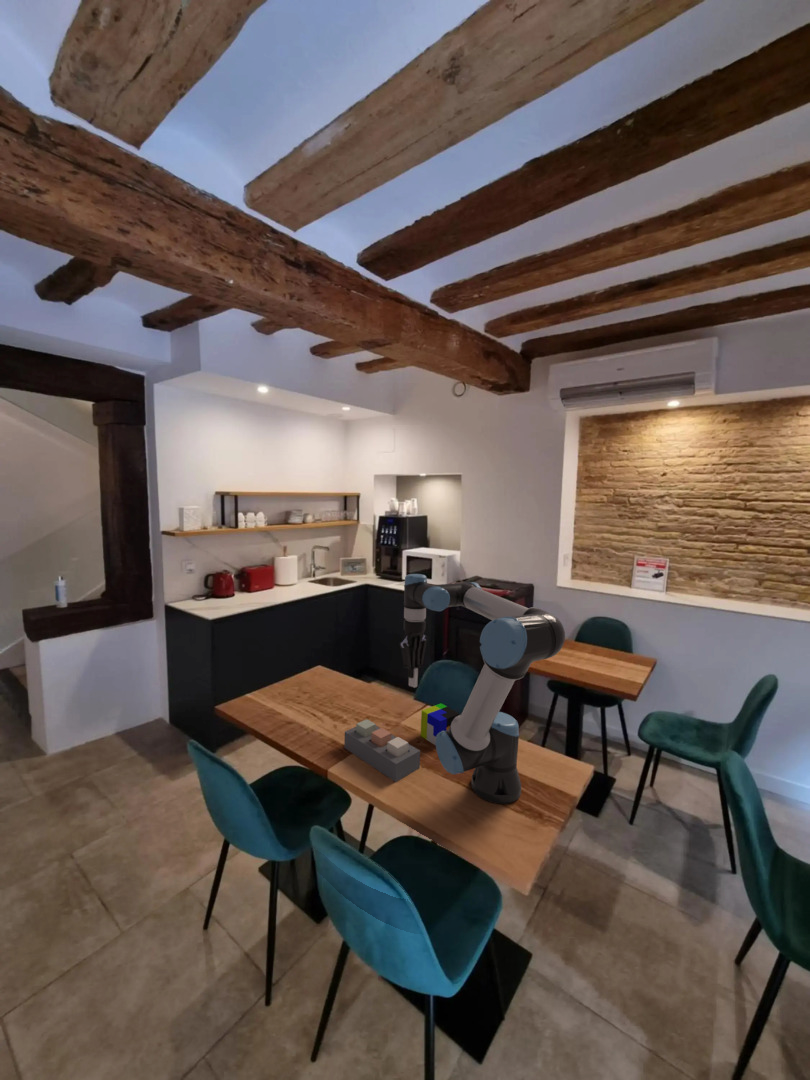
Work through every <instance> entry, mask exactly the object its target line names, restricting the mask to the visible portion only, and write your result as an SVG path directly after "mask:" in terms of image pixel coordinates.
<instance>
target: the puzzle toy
mask: <svg viewBox="0 0 810 1080" xmlns="http://www.w3.org/2000/svg"><path fill="white" fill-rule="evenodd" d="M459 715H461V713H460V712H458V711H456V710H454V709H452V708H451V707H449V706H447V705H445V704H444V703H442V702H441V703H439V704H436V705H433V706H430V707H426V708H424V709H421V717H420V719H421V720H420V737H422V738H423V739H425V740H426V741H428V742H430V743H431V744H433V745H434V746H436V736H437V734H438V733H440V732H442V731H446V730H448V729H449V727H450V725H451V723H452V721H453V719H454V718H455V717H457V716H459Z"/></svg>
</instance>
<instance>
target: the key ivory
mask: <svg viewBox="0 0 810 1080" xmlns="http://www.w3.org/2000/svg"><path fill="white" fill-rule="evenodd" d="M396 737H397V738H395V739H393V740H391V741H389V742H388V745H387V752H388V753H390V754H392V755H393V756H395V757H397V758H399V757H401V756H402V755H404V754H406V753H408V744H409V742H408V741H406V740H404V738H403V739H402V738H401V737H399V736H396Z"/></svg>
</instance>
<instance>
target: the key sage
mask: <svg viewBox="0 0 810 1080" xmlns="http://www.w3.org/2000/svg"><path fill="white" fill-rule="evenodd" d="M376 726H377V724H376V723H375V722H373V721H371V720H369V719H367V718H366V719H364V720H362V721H359V722H357V723H356V726H355V727H356V733H357V734H359V735H361V736H362V737H364V738H366V737H368V736H371V733H372V732H374V731H376Z"/></svg>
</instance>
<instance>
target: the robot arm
mask: <svg viewBox="0 0 810 1080" xmlns="http://www.w3.org/2000/svg"><path fill="white" fill-rule="evenodd" d="M403 586H404V587H403V591H404V592H403V595H404V597H403V600H404V601H403V605H404V607H403V608H404V609H403V618H404V619H403V631H404V632H405V634H404V637H403V638H404V639H403V640H402V641H399V643H398V645H399V647H400V650H401V655H402V656H401V657H402V663H403V667H404V668H406V669H408V670H407V678H408V686H409V687H411V688H414V689H415V688H417V687H418V679H419V678H418V677H419V669H421V668H422V665H423V664H424V659H425V654H426V649H427V644H428V641H429V636H427V635H425V631H426V623H427V621H426V618H427V609H429V610H431V611H435V612H442V611H444V610H445V609H447V608H452V607H459V606H461V607H464V608H466V609H468V610H471V611H472V612H474V613H477V614H478V615H481V616H483V617H484V618H486V619H488V620H491V621H489V622H488V623H486V625H485V626H484V627H483V629H482V631H481V634H480V637H479V643H480V646H479V650H480V653H481V654H480V655H481V657H482V660H483V663H484V664H483V667H482V668H481V671H480V673H479V675H478V677H477V680H476V682H475V684H474V686H473V688H472V691H471V692H470V695H469V697H468V699H467V702H466V704H465V706H464V707H463V710H462V712H461V713H460V715H459V716H457V717H455V718H454V719H453V721H452V723H451V725H450V727H449V729H448V730H446V731H442V732H440V733H438V734H437V736H436V745H435V749H436V753H437V757H438V760H439V761H440V763H441V766H442V767H443V769H445V771H446V772H447V773H448V774H451V775H458V774H463V773H465V772H468V771H470V770H473V773H472V775H471V783H470V784H471V789H472V790H473V792H474V793H475V794H476V795H477V796H478V797H479V798H481V799H482V800H484V801H487V802H490V803H492V804H500V805H501V804H502V805H504V804H505V805H506V804H511V803H514V802H516V801H517V800H519V798H520V797H521V794H522V782H521V778H520V775H519V771H518V767H517V765H518V753H519V752H518V751H519V740H520V739H519V737H520V733H519V723H518V720H516V719H515V718H514V717H513V716H512V715H510V714H508V713H506V712H504V711H503V712H502V711H500V710H501V709H502V707H503V704H504V703H505V700H506V699H507V696H508V695H509V693H510V691H511V690H512V688H513V685H514V684H515V681H517V680H520V679H523V678H524V677H525V676H526V674H527V672H528V670H529V668H530V666H531V664H533V663H534V662H538V661H541V660H547V659H548V660H549V659H550V658H552V657H554V656H556V655H557V654H558V653H560V651H561V650H562V648H563V646H564V644H565V641H566V640H565V639H566V631H565V628H564V625H563V624H562V622H561V621H560V619H559V618H558V617H557V616H555V615H554V614H552V613H550V612H549V611H546V610H544V609H541V608H538V607H536V606H534V607H529V608H528V607H526V606H524V605H521V604H519V603H516V602H513V601H511V600H509V599H507V598H504V597H501V596H499V595H496V594H493V593H491V592H490V591H486V590H484V589H482V587H481V586H480V584H479V583H477V582H475V581H472V582H471V581H465V582H456V583H445V584H444V583H443V584H430V583H428V578H427V575H425V574H421V573H410V574H407V575H406V576H405V577H404V585H403Z"/></svg>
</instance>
